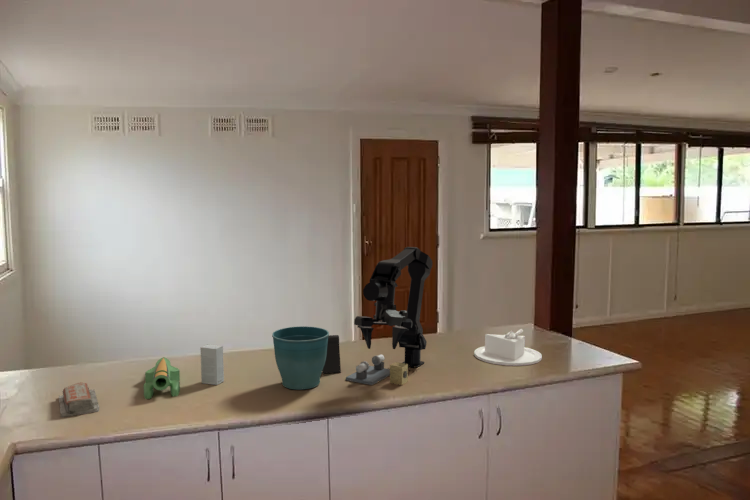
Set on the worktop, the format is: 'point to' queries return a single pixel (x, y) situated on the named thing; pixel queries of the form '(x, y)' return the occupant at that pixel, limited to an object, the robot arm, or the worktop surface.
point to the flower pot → (300, 355)
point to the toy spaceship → (162, 378)
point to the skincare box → (212, 364)
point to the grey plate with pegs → (370, 371)
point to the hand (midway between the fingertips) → (381, 348)
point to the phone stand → (332, 356)
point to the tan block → (398, 373)
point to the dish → (507, 350)
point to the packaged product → (78, 400)
